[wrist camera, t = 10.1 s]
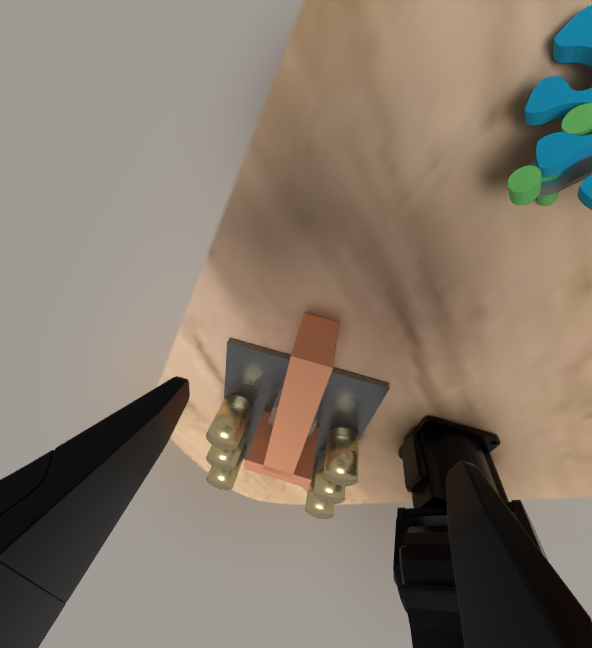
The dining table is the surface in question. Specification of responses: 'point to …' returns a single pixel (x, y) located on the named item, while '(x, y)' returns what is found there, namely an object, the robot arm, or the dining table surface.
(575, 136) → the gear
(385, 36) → the dining table surface
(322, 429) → the plate
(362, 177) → the dining table surface
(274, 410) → the nut
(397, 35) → the dining table surface
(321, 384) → the copper l-bar
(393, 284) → the dining table surface
